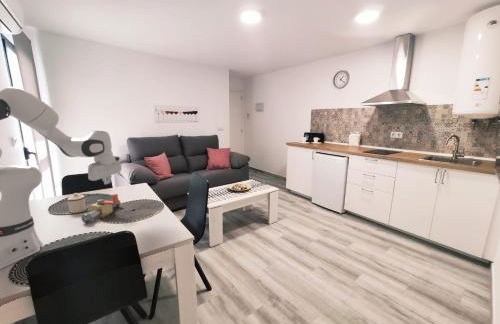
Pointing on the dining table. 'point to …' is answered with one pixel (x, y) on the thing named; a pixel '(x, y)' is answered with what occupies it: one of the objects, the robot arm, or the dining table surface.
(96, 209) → the valve pipe
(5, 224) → the robot arm
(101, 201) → the valve lever
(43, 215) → the dining table surface
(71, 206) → the teacup with lid
